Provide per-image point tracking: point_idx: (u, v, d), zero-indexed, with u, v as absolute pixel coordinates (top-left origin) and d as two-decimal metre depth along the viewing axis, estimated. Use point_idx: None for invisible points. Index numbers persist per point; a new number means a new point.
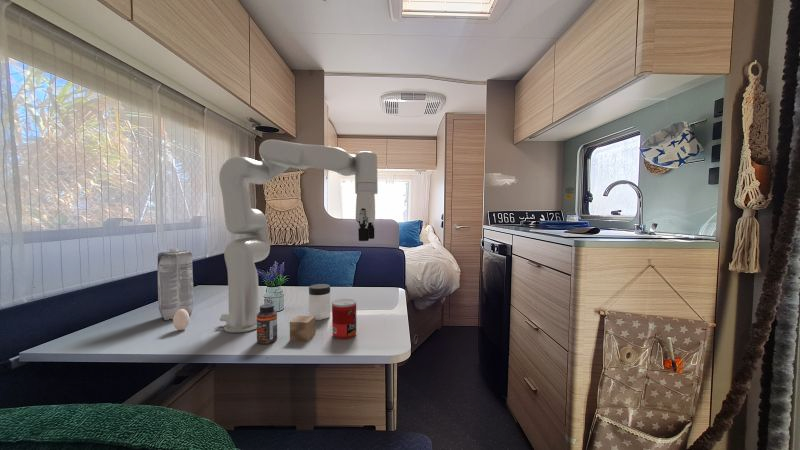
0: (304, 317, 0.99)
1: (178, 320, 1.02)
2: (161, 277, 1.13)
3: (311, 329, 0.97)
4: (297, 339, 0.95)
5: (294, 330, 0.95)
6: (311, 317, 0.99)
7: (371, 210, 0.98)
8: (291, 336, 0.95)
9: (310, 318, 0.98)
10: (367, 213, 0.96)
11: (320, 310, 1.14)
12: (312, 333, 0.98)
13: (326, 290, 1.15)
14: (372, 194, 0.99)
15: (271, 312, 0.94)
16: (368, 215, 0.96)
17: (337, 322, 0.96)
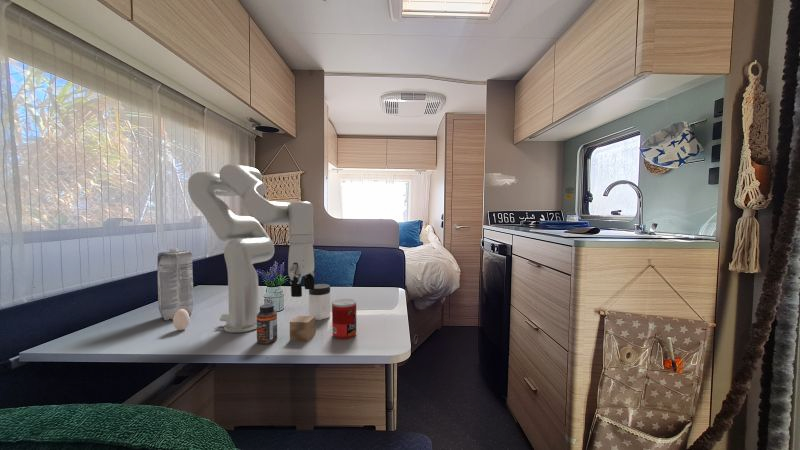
0: (304, 317, 0.99)
1: (178, 320, 1.02)
2: (161, 277, 1.13)
3: (311, 329, 0.97)
4: (297, 339, 0.95)
5: (294, 330, 0.95)
6: (311, 317, 0.99)
7: (305, 263, 0.94)
8: (291, 336, 0.95)
9: (310, 318, 0.98)
10: (299, 267, 0.92)
11: (320, 310, 1.14)
12: (312, 333, 0.98)
13: (326, 290, 1.15)
14: (307, 246, 0.95)
15: (271, 312, 0.94)
16: (301, 269, 0.92)
17: (337, 322, 0.96)
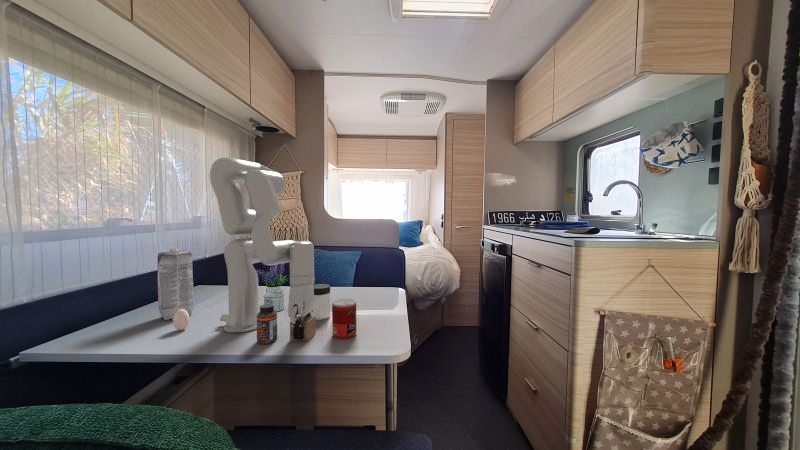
0: (304, 317, 0.99)
1: (178, 320, 1.02)
2: (161, 277, 1.13)
3: (311, 329, 0.97)
4: (297, 339, 0.95)
5: None
6: (311, 317, 0.99)
7: (305, 304, 0.94)
8: (291, 336, 0.95)
9: (310, 318, 0.98)
10: (300, 309, 0.92)
11: (320, 310, 1.14)
12: (312, 333, 0.98)
13: (326, 290, 1.15)
14: (307, 286, 0.95)
15: (271, 312, 0.94)
16: (301, 311, 0.92)
17: (337, 322, 0.96)
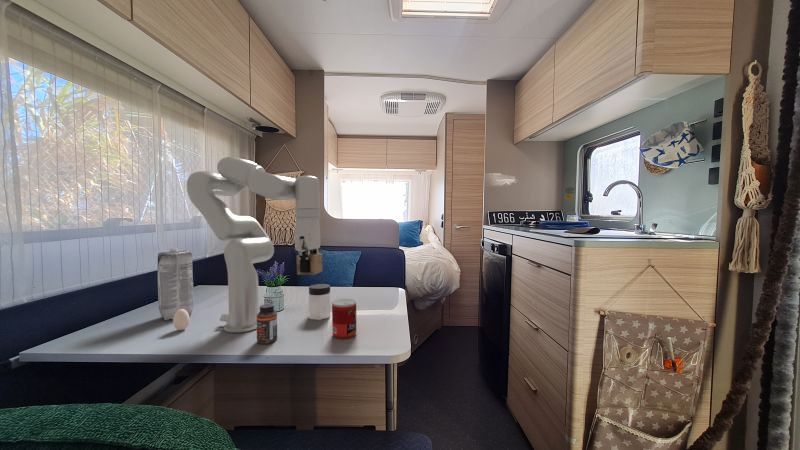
0: None
1: (178, 320, 1.02)
2: (161, 277, 1.13)
3: (318, 264, 0.96)
4: (304, 273, 0.94)
5: None
6: (318, 253, 0.99)
7: (311, 237, 0.94)
8: (298, 270, 0.95)
9: (317, 254, 0.98)
10: (306, 241, 0.92)
11: (320, 310, 1.14)
12: (319, 269, 0.97)
13: (326, 290, 1.15)
14: (313, 220, 0.95)
15: (271, 312, 0.94)
16: (307, 243, 0.92)
17: (337, 322, 0.96)
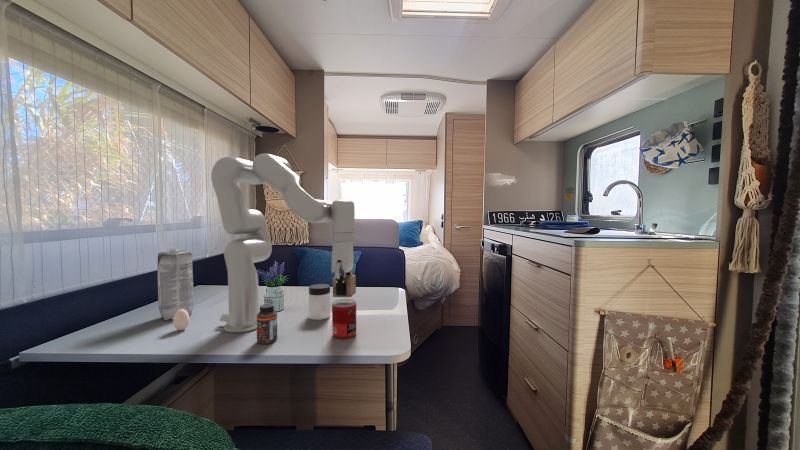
0: None
1: (178, 320, 1.02)
2: (161, 277, 1.13)
3: (352, 286, 0.98)
4: (340, 295, 0.96)
5: None
6: (352, 275, 1.00)
7: (348, 261, 0.95)
8: (334, 292, 0.96)
9: (351, 276, 0.99)
10: (343, 265, 0.94)
11: (320, 310, 1.14)
12: (353, 290, 0.99)
13: (326, 290, 1.15)
14: (349, 244, 0.97)
15: (271, 312, 0.94)
16: (344, 267, 0.94)
17: (337, 322, 0.96)
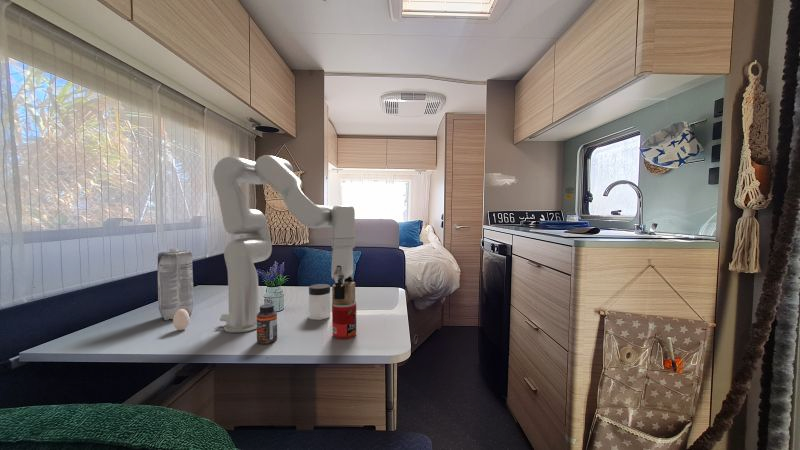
0: (344, 282, 1.00)
1: (178, 320, 1.02)
2: (161, 277, 1.13)
3: (352, 293, 0.98)
4: (339, 302, 0.96)
5: None
6: (351, 282, 1.00)
7: (347, 266, 0.95)
8: (333, 300, 0.96)
9: (351, 283, 0.99)
10: (343, 270, 0.94)
11: (320, 310, 1.14)
12: (353, 298, 0.99)
13: (326, 290, 1.15)
14: (349, 249, 0.97)
15: (271, 312, 0.94)
16: (344, 272, 0.94)
17: (337, 323, 0.96)
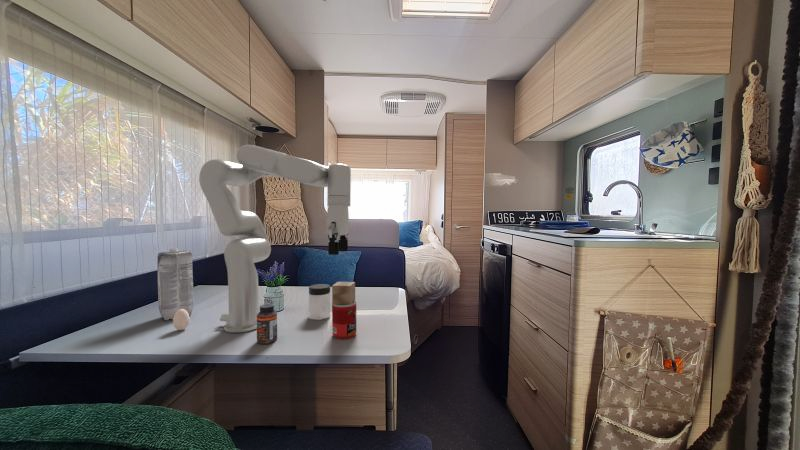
0: (344, 282, 1.00)
1: (178, 320, 1.02)
2: (161, 277, 1.13)
3: (352, 293, 0.98)
4: (339, 302, 0.96)
5: (336, 293, 0.96)
6: (351, 282, 1.00)
7: (342, 223, 0.97)
8: (333, 300, 0.96)
9: (351, 283, 0.99)
10: (337, 227, 0.95)
11: (320, 310, 1.14)
12: (353, 298, 0.99)
13: (326, 290, 1.15)
14: (344, 207, 0.98)
15: (271, 312, 0.94)
16: (338, 229, 0.95)
17: (337, 322, 0.96)
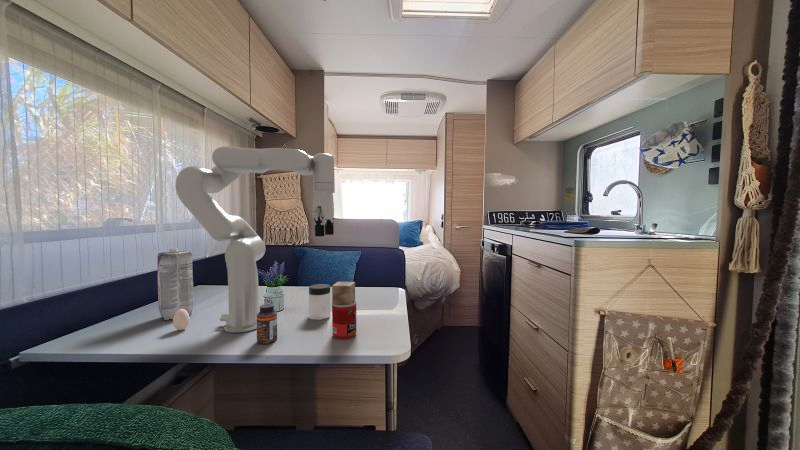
0: (344, 282, 1.00)
1: (178, 320, 1.02)
2: (161, 277, 1.13)
3: (352, 293, 0.98)
4: (339, 302, 0.96)
5: (336, 293, 0.96)
6: (351, 282, 1.00)
7: (327, 208, 1.06)
8: (333, 300, 0.96)
9: (351, 283, 0.99)
10: (323, 210, 1.04)
11: (320, 310, 1.14)
12: (353, 298, 0.99)
13: (326, 290, 1.15)
14: (329, 193, 1.07)
15: (271, 312, 0.94)
16: (324, 212, 1.04)
17: (337, 322, 0.96)
